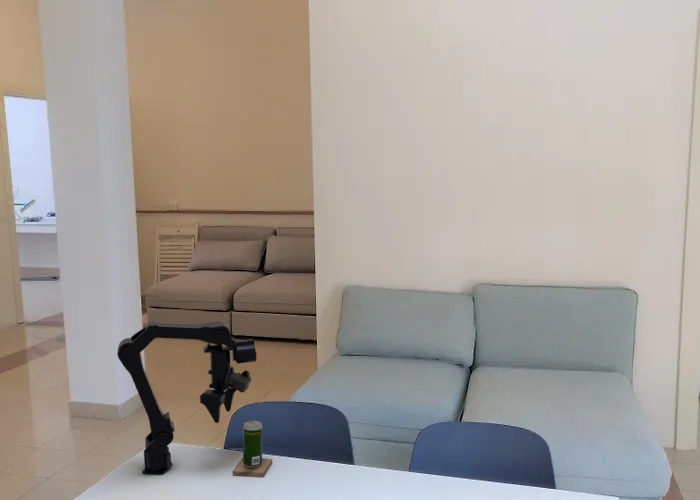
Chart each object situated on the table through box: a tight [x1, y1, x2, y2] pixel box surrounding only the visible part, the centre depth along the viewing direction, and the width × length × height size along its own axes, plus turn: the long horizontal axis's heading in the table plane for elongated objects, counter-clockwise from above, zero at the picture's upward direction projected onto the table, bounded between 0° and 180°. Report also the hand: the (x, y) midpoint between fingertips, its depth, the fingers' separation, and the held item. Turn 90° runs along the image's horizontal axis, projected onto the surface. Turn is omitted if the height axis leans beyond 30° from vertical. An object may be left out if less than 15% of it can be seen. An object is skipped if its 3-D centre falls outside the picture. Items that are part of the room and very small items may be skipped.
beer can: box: [242, 420, 264, 468], centre depth 183 cm, size 5×5×12 cm
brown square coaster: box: [231, 457, 273, 478], centre depth 184 cm, size 9×9×2 cm
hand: (222, 416), depth 190 cm, fingers open, 9 cm apart
